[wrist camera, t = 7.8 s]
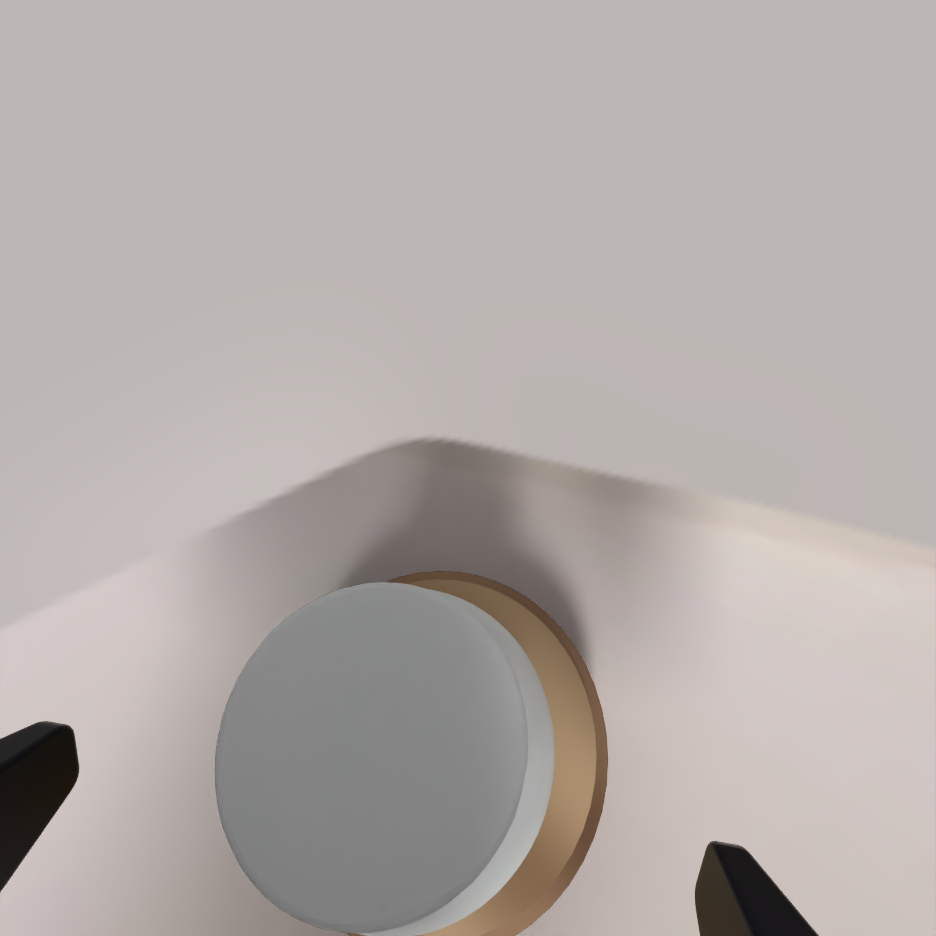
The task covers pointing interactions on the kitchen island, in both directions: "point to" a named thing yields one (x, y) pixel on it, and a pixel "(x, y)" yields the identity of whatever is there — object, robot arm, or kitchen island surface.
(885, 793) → the kitchen island surface
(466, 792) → the supplement bottle
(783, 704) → the kitchen island surface
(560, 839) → the pedestal
